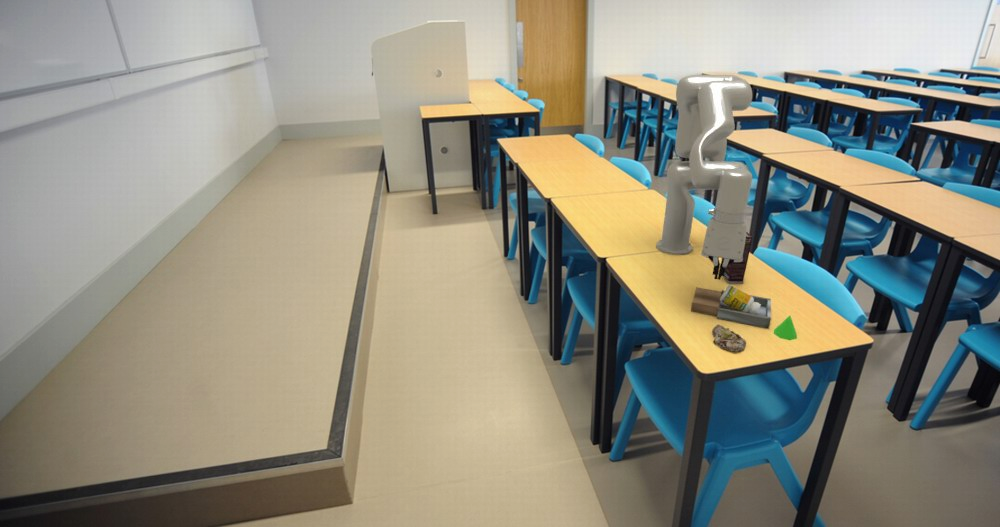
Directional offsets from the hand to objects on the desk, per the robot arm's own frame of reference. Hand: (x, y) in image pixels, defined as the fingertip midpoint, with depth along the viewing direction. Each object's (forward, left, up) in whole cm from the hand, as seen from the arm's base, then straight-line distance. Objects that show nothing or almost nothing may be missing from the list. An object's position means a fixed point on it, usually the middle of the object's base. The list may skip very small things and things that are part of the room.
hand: (717, 277), depth 146 cm
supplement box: (-22, +4, -10) cm, 24 cm away
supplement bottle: (0, +2, -4) cm, 5 cm away
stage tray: (0, +4, -10) cm, 10 cm away
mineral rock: (+16, +5, -10) cm, 20 cm away
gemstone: (+7, +19, -10) cm, 22 cm away
